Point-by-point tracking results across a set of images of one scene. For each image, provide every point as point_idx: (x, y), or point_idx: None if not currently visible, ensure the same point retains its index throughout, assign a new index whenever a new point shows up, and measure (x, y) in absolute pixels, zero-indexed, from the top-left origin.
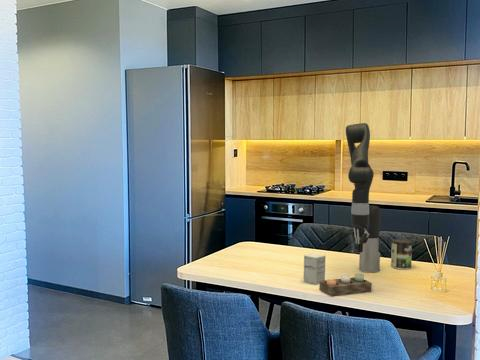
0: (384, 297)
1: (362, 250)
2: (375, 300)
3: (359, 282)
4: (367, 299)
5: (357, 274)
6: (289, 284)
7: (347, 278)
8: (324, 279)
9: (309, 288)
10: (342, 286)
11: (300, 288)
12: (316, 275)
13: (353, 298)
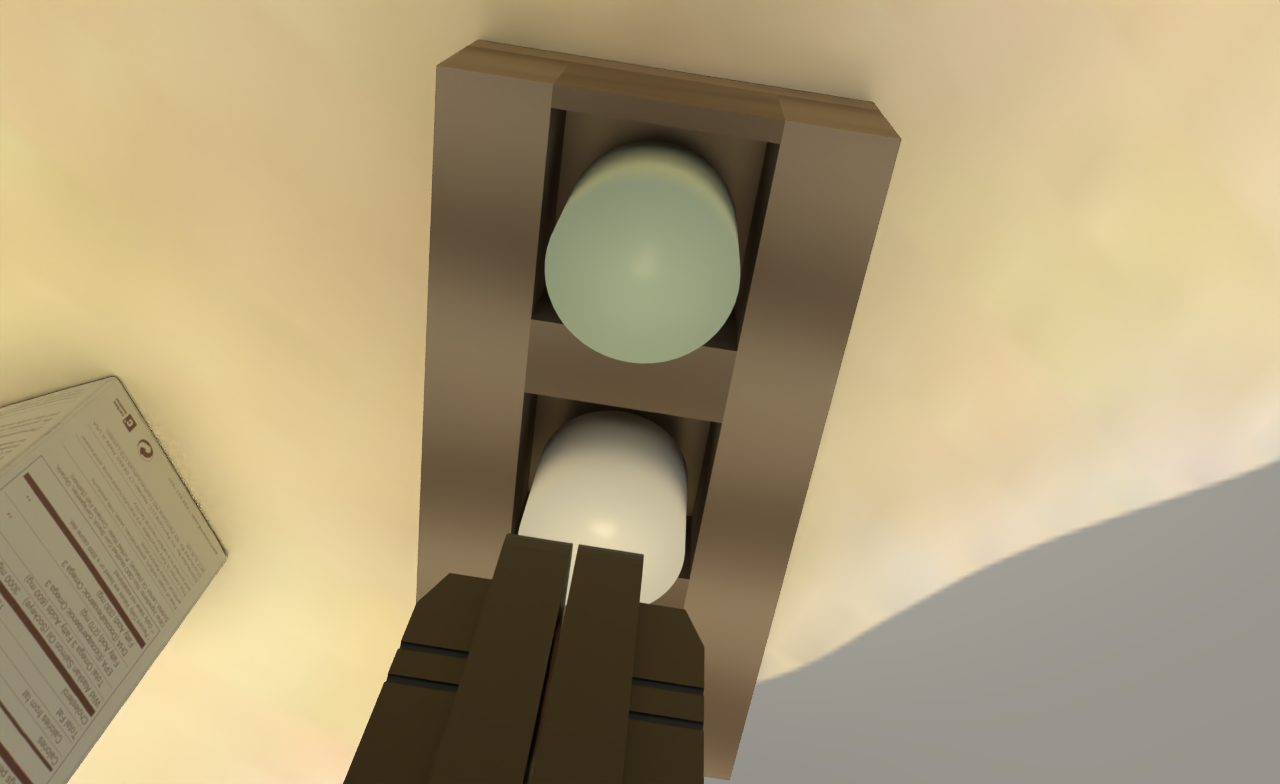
0: (1203, 125)
1: (694, 644)
2: (1187, 352)
3: (756, 325)
4: (1080, 413)
5: (602, 290)
6: (136, 764)
7: (680, 558)
8: (104, 401)
9: (349, 690)
10: (764, 646)
11: (316, 757)
12: (162, 636)
13: (931, 530)
